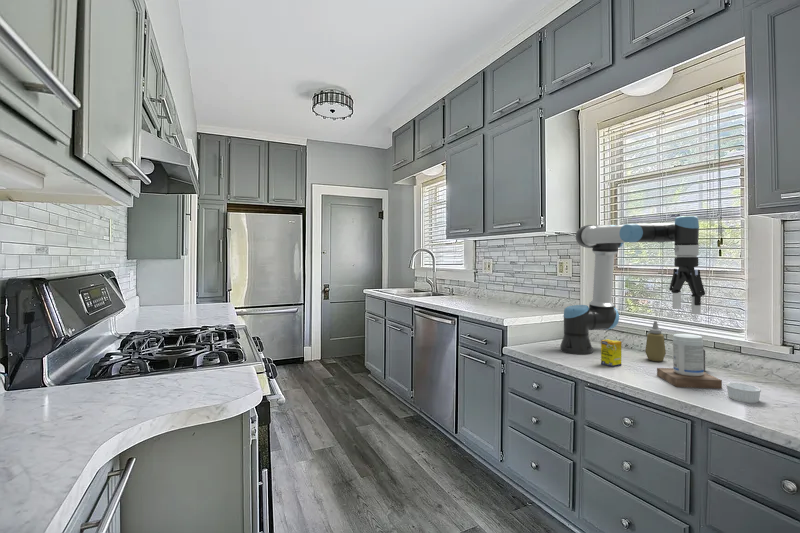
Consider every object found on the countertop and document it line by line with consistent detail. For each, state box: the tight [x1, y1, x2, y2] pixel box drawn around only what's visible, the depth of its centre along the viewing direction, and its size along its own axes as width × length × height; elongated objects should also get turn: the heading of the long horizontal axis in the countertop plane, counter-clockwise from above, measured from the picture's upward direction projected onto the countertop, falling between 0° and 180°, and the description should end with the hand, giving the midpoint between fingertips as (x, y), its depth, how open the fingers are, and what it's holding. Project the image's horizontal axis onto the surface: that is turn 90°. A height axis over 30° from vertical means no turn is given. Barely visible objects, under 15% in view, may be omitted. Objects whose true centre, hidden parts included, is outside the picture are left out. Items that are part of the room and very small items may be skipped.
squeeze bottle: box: [645, 321, 667, 362], centre depth 185 cm, size 8×8×18 cm
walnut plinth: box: [656, 367, 723, 390], centre depth 153 cm, size 15×15×3 cm
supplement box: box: [600, 338, 622, 368], centre depth 178 cm, size 6×6×11 cm
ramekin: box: [725, 382, 762, 404], centre depth 134 cm, size 9×9×4 cm
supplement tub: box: [672, 333, 705, 377], centre depth 153 cm, size 10×10×15 cm
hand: (685, 311), depth 154 cm, fingers open, 13 cm apart
